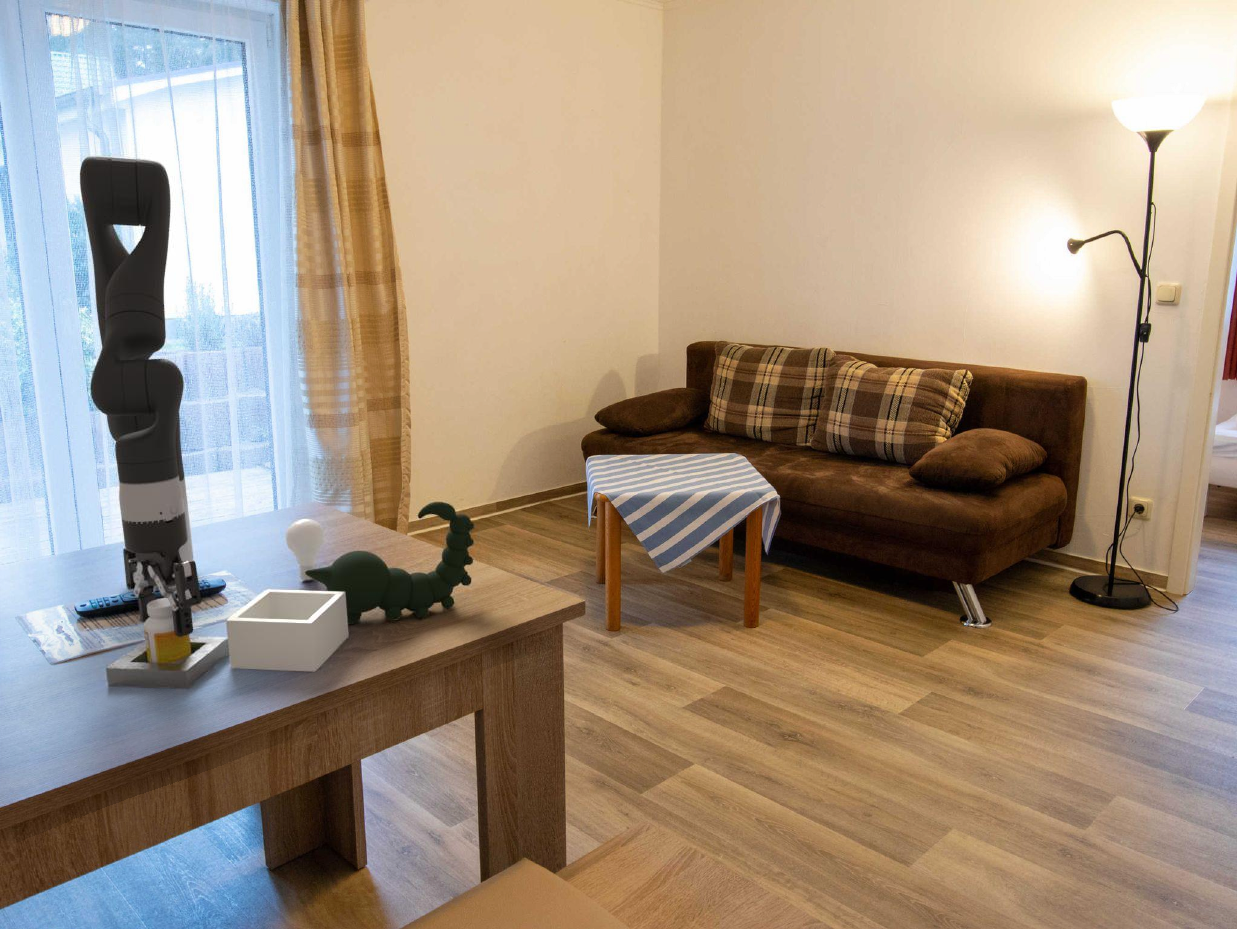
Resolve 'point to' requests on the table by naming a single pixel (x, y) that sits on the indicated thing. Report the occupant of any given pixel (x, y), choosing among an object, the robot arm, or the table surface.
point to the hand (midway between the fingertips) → (167, 627)
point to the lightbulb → (305, 543)
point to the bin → (287, 630)
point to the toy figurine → (402, 574)
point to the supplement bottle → (164, 635)
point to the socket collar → (168, 666)
